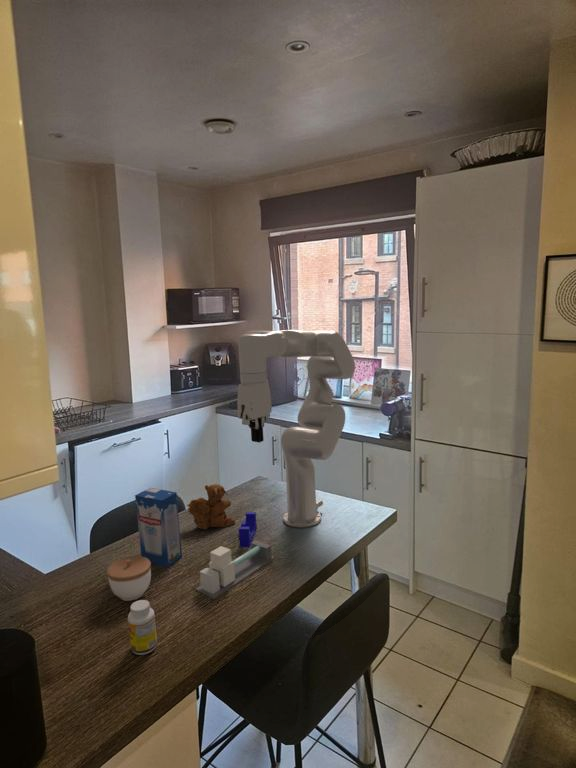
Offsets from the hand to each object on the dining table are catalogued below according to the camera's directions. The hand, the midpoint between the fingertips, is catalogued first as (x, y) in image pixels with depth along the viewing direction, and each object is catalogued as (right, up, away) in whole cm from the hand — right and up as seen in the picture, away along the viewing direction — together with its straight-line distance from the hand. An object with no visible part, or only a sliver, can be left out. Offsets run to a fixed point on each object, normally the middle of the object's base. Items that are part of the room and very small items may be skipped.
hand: (257, 441), depth 148 cm
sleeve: (-8, -36, -12) cm, 38 cm away
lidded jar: (-32, -38, -15) cm, 51 cm away
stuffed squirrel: (-17, -31, +24) cm, 42 cm away
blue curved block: (-4, -32, +13) cm, 35 cm away
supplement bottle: (-23, -41, -35) cm, 59 cm away
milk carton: (-28, -35, +2) cm, 45 cm away
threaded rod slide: (-5, -35, -7) cm, 36 cm away
